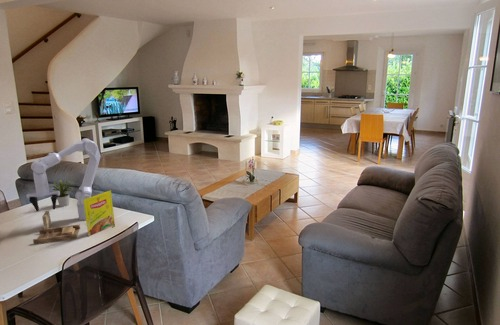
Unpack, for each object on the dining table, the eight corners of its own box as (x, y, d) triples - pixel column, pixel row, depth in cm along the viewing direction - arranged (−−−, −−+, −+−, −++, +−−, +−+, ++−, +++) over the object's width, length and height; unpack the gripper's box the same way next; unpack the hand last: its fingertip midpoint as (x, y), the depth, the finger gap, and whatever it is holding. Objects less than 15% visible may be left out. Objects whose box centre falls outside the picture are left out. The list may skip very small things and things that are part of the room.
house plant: (64, 211, 204) (60, 184, 200) (44, 209, 207) (40, 183, 203) (81, 202, 217) (78, 177, 213) (62, 200, 220) (58, 175, 216)
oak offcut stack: (75, 230, 177) (74, 225, 177) (72, 237, 170) (71, 232, 169) (63, 231, 176) (63, 227, 175) (60, 238, 168) (59, 234, 168)
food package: (89, 238, 171) (83, 199, 165) (88, 238, 171) (82, 199, 166) (115, 226, 183) (111, 190, 178) (114, 226, 184) (109, 189, 179)
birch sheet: (51, 225, 185) (49, 210, 182) (48, 230, 178) (45, 216, 176) (48, 225, 184) (45, 211, 182) (44, 231, 178) (42, 216, 176)
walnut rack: (80, 229, 180) (79, 224, 179) (76, 240, 169) (75, 234, 168) (41, 234, 175) (39, 229, 174) (34, 246, 164) (33, 240, 163)
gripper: (22, 188, 170) (27, 214, 174) (56, 185, 175) (60, 210, 178) (27, 184, 177) (31, 209, 181) (58, 181, 181) (63, 205, 185)
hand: (46, 209), depth 180 cm, fingers open, 7 cm apart
